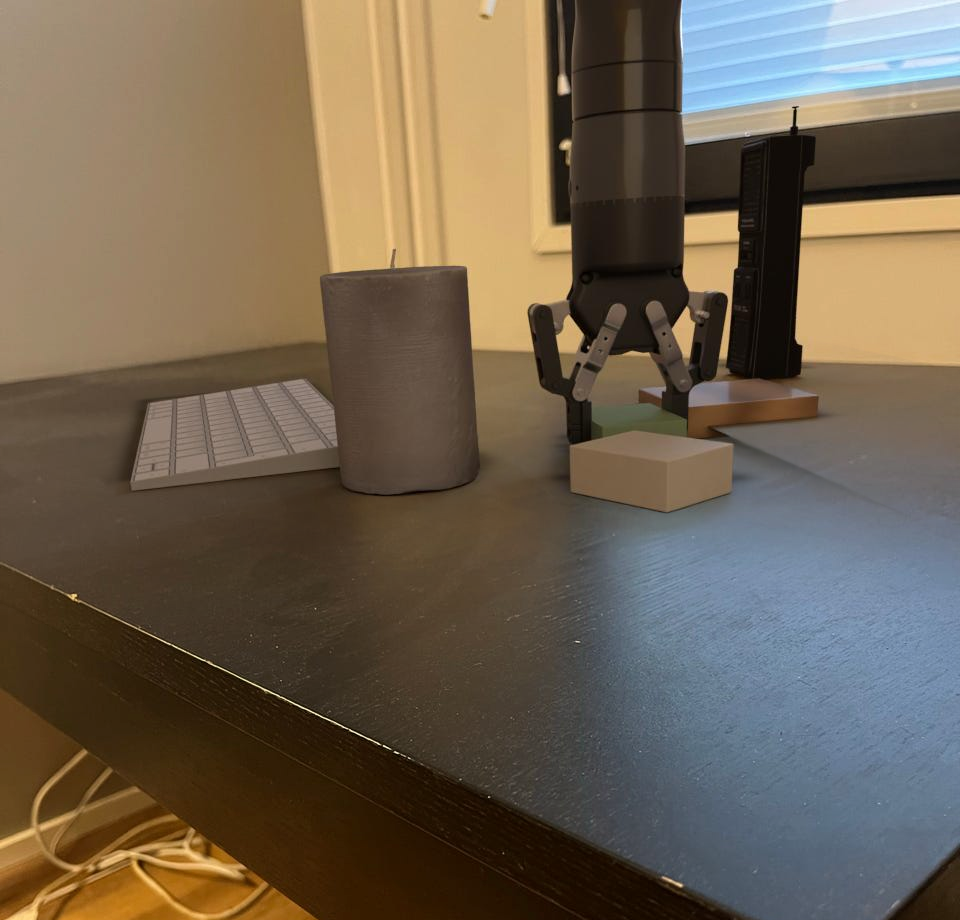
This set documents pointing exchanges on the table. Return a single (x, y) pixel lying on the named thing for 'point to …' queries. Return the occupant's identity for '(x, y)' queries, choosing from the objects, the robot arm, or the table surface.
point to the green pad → (635, 421)
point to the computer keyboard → (236, 435)
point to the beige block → (651, 469)
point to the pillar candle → (402, 377)
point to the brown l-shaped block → (737, 404)
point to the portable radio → (769, 256)
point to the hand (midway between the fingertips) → (627, 447)
